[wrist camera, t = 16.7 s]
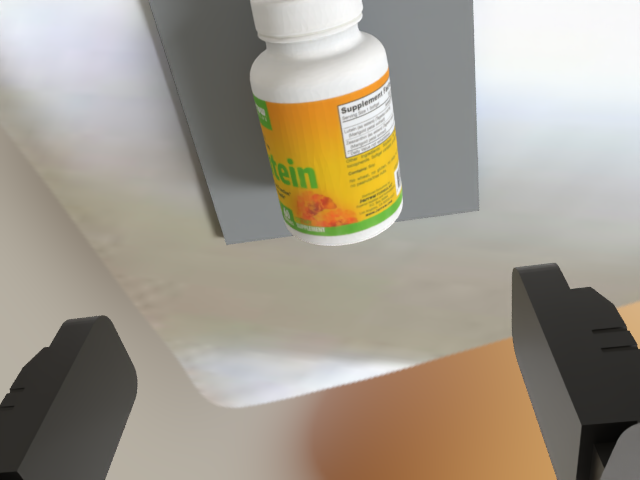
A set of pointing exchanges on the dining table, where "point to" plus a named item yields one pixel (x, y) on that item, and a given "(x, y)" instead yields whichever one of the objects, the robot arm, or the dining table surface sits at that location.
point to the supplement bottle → (326, 120)
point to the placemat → (406, 90)
